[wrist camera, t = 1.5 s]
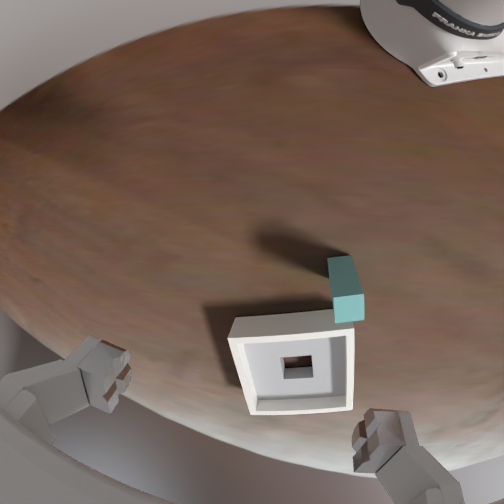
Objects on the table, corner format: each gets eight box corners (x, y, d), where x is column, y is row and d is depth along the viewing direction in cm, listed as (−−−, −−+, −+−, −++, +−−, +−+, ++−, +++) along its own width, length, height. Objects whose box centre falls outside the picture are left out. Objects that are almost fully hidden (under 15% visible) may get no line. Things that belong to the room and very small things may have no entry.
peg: (350, 255, 37) (363, 293, 27) (352, 276, 38) (364, 319, 28) (327, 258, 37) (333, 297, 28) (329, 279, 38) (335, 323, 29)
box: (349, 307, 39) (354, 328, 34) (350, 387, 44) (352, 409, 40) (235, 317, 43) (227, 338, 38) (255, 393, 48) (250, 414, 43)
